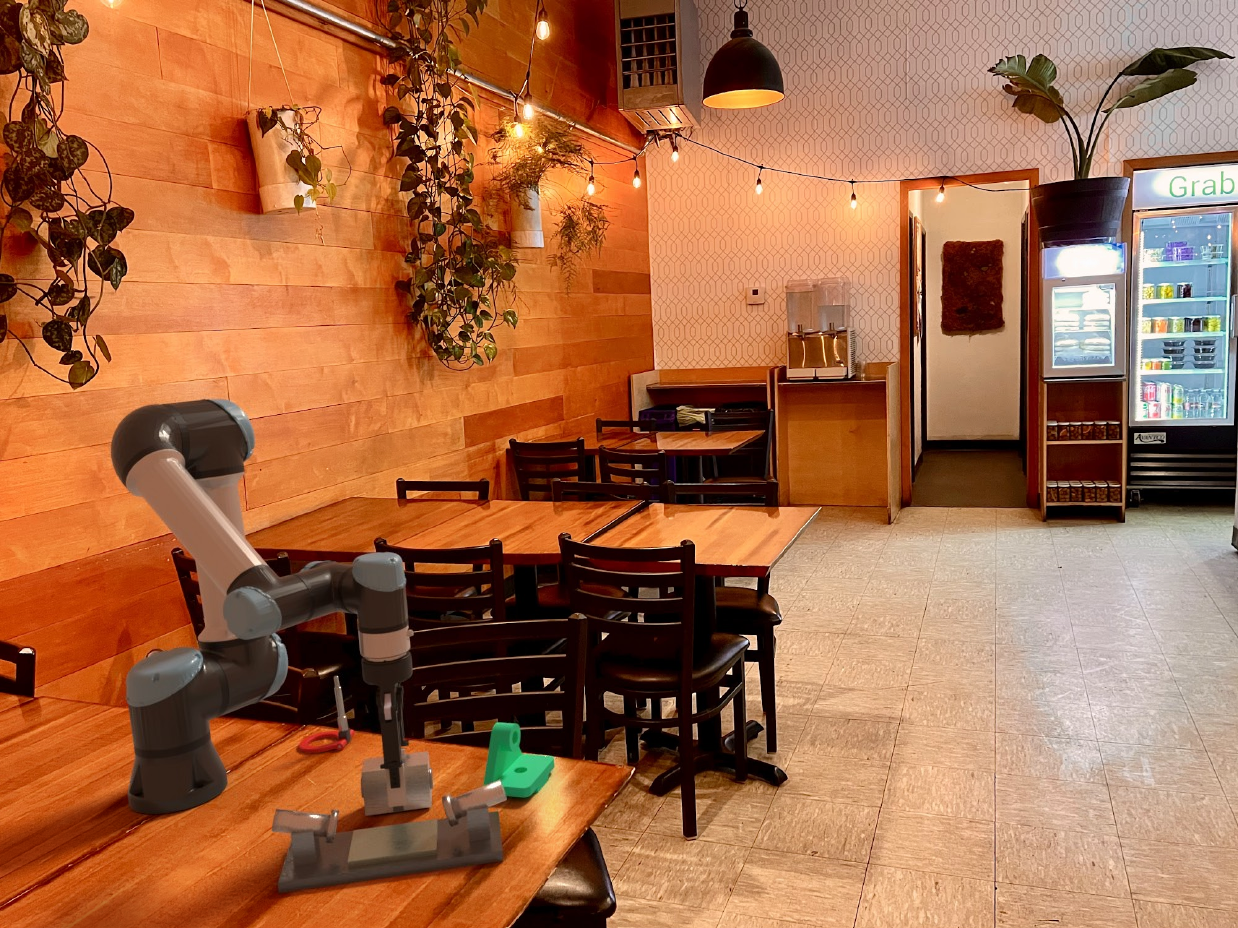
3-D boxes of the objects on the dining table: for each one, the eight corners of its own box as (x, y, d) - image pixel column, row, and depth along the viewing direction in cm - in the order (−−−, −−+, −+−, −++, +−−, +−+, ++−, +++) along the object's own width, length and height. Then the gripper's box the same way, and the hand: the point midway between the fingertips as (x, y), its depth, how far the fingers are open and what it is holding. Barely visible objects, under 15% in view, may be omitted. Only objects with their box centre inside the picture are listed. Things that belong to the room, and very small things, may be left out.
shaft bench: (269, 894, 132) (262, 831, 131) (283, 849, 144) (277, 791, 143) (512, 859, 137) (507, 798, 136) (507, 819, 149) (502, 762, 148)
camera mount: (529, 804, 154) (524, 741, 153) (484, 800, 156) (479, 738, 155) (557, 771, 165) (552, 712, 164) (515, 767, 168) (510, 709, 166)
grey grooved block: (362, 816, 152) (358, 772, 151) (365, 801, 157) (361, 758, 156) (433, 806, 154) (430, 763, 153) (434, 792, 159) (430, 750, 158)
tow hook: (292, 757, 179) (342, 752, 178) (282, 688, 177) (332, 683, 176) (309, 738, 187) (357, 734, 186) (299, 672, 185) (347, 668, 185)
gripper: (408, 670, 144) (421, 820, 147) (412, 634, 162) (424, 769, 165) (355, 675, 143) (369, 827, 146) (365, 638, 161) (378, 774, 164)
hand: (398, 796), depth 155 cm, fingers closed on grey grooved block, 5 cm apart
